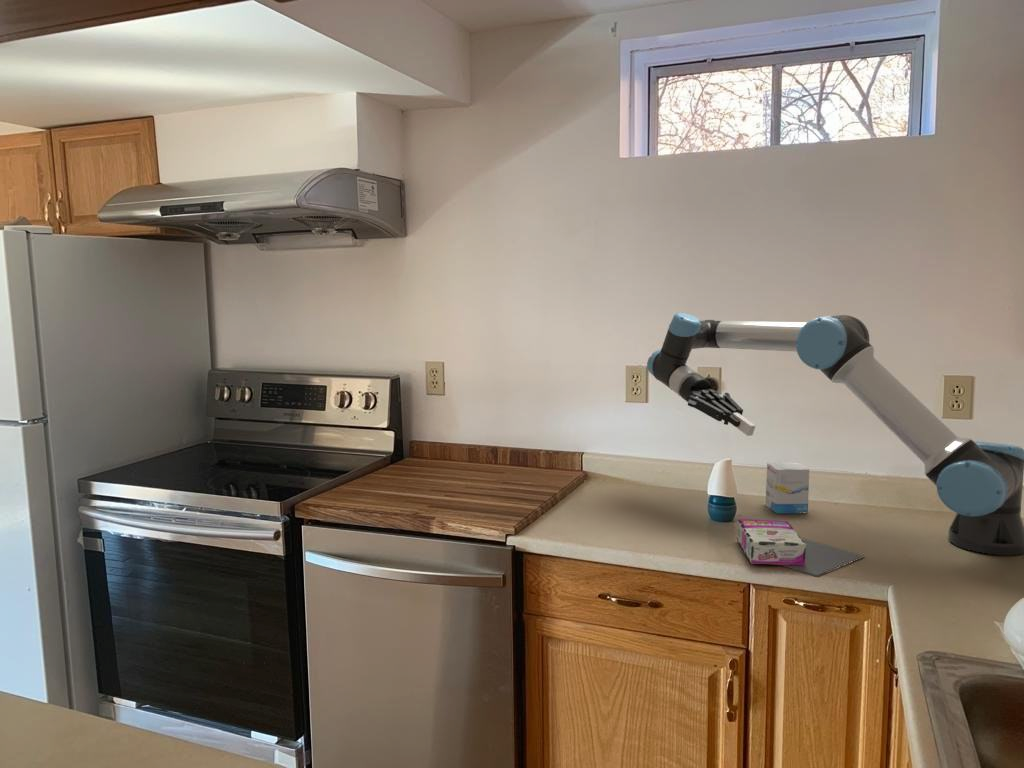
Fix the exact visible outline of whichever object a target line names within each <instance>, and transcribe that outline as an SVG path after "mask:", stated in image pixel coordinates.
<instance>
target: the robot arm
mask: <svg viewBox="0 0 1024 768" xmlns="http://www.w3.org/2000/svg"><path fill="white" fill-rule="evenodd" d="M667 329H668V330H667V331H666V335H665V337H664V341H663V342H662V343H663V344H662V347H661V348H660V349H659V350H658V349H657V350H655V351H653V352H652V354H651V355H650V356H649V357H648V360H647V362H646V366H647V371H648V372H649V374H651V375H652V376H653V377H654V378H655V379H656V380H658V381H659V382H660V383H662V384H664V386H666V387H667V388H669V389H670V390H671V391H673V392H674V393H675V394H676V395H678V396H679V397H681V399H683V400H684V401H685V402H687V406H689V407H691V408H694V409H696V410H698V411H700V412H702V413H703V414H705V415H706V416H708V417H711V419H713V420H716V421H718V422H722V421H723V425H726V426H727V425H728V424H730V425H732V426H733V427H734V428H737V429H738V430H739V431H740V432H741V433H743V434H745V435H746V436H748V437H750V436H753V435H754V431H755V428H756V426H757V425H755V424H754V423H753V422H752V421H750V420H749V419H747V418H746V417H745V416H743V412H744V409H743V408H742V407H741V406H740V405H739V404H738V403H737V402H736V401H735V400H734V399H733V398H732V397H731V395H730V393H728V392H724V394H719V392H718V391H717V390H714V389H712V386H711V383H710V381H709V380H708V379H706V378H705V377H703V376H702V375H701V374H699V373H698V372H696V371H695V370H694V369H692V368H691V367H689V366H688V365H687V361H688V360H689V357H690V354H691V352H692V350H696V349H705V348H710V349H735V350H757V351H775V352H795V353H797V355H798V358H799V359H800V360H801V362H802V363H803V364H805V365H806V366H808V367H809V368H812V369H815V370H820V371H821V373H822V374H823V375H824V376H825V377H827V378H828V379H829V381H831V383H833V384H843V385H844V386H846V388H848V390H849V391H851V392H852V394H854V396H855V397H856V398H858V400H860V402H862V404H864V406H865V407H866V408H868V410H870V411H871V412H872V413H873V414H874V415H875V416H876V417H877V419H879V420H880V421H881V422H882V423H883V424H884V425H885V426H886V427H887V428H888V429H889V430H890V431H891V432H892V433H893V434H894V435H895V436H896V437H897V438H898V439H899V440H900V441H901V442H902V443H903V444H904V445H905V446H906V447H907V448H908V449H909V450H910V451H911V452H912V453H913V454H914V455H915V456H916V457H917V458H918V459H919V460H920V461H921V462H922V463H923V465H924V475H925V476H926V478H927V479H929V480H930V481H931V482H932V483H933V484H934V485H935V487H936V493H937V494H938V498H939V499H940V501H941V502H942V504H943V505H944V506H945V507H947V508H948V509H949V510H951V511H952V512H954V513H955V515H954V517H953V520H952V522H951V524H950V526H949V528H948V533H947V534H948V535H947V537H948V538H947V540H948V539H949V540H948V542H949V541H950V542H949V543H951V542H952V543H953V544H952V543H951V544H952V545H954V544H955V545H954V546H956V545H957V546H956V547H958V546H959V547H958V548H960V547H961V548H960V549H963V548H964V550H966V549H969V550H968V551H970V550H973V551H972V552H974V551H977V552H976V553H979V552H982V553H981V554H984V553H988V554H987V555H991V554H994V555H993V556H1020V555H1023V554H1024V523H1023V518H1022V513H1021V512H1022V498H1023V487H1024V485H1023V484H1024V449H1023V448H1022V447H1021V446H1017V445H1014V444H1013V445H1012V444H1004V443H998V442H986V441H978V440H977V441H975V440H973V439H972V438H969V437H968V438H967V437H959V436H957V435H956V434H955V433H954V432H953V431H952V430H951V429H950V428H949V427H947V426H946V425H945V423H944V422H942V420H940V419H939V418H938V417H937V416H936V415H935V414H934V413H933V412H932V411H931V410H930V409H929V408H928V407H927V406H926V405H924V403H923V402H921V401H920V400H919V399H918V398H917V397H916V396H915V395H914V394H913V393H912V392H911V391H910V390H909V389H908V388H906V387H905V386H904V384H903V383H902V382H900V380H898V379H897V378H896V377H895V376H894V375H893V374H892V372H890V371H889V370H888V369H887V368H885V366H884V365H882V364H881V363H880V362H879V361H878V360H877V359H876V358H875V357H874V352H875V347H874V346H873V345H872V344H871V343H870V334H869V333H870V332H869V330H868V327H867V326H866V325H865V323H864V322H862V320H860V319H858V318H857V317H855V316H851V315H849V314H848V315H846V314H841V315H840V314H839V315H821V316H818V317H815V318H813V319H811V320H808V321H770V320H769V321H758V320H756V321H755V320H753V321H752V320H750V321H749V320H716V321H715V319H705V320H700V319H699V318H698V317H697V316H694V315H692V314H689V313H684V312H677V313H675V314H674V315H673V318H672V319H671V322H670V323H669V324H668V328H667Z"/></svg>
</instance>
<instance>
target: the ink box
mask: <svg viewBox="0 0 1024 768" xmlns="http://www.w3.org/2000/svg"><path fill="white" fill-rule="evenodd" d="M765 484H766V485H765V487H766V488H765V506H767V505H768V506H767V507H768V508H769V509H770V510H771V509H772V510H773V511H774V512H775V513H774V512H773V511H772V510H771V511H772V512H773V513H774V514H804V513H803V512H808V513H809V494H810V493H809V491H810V490H809V488H810V469H809V468H807V467H806V466H804V465H803V464H801V463H799V462H794V461H793V462H788V461H787V462H786V461H785V462H780V461H775V462H766V483H765ZM800 512H801V513H800Z"/></svg>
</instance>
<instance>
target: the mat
mask: <svg viewBox="0 0 1024 768" xmlns="http://www.w3.org/2000/svg"><path fill="white" fill-rule="evenodd" d="M800 538H801V539H802V540H803V541H804V543H805V544H806V554H805V566H799V565H780V566H782V567H785V568H787V567H788V569H791V568H792V569H791V570H794V569H795V570H794V571H797V570H798V572H800V571H801V572H800V573H803V572H804V573H803V574H806V573H807V574H806V575H810V576H813V577H815V578H818V577H820V576H823V575H825V574H824V573H826V572H828V571H830V572H832V571H831V570H833V569H835V568H837V567H839V566H842V565H844V564H847V563H849V562H851V561H854V560H856V559H859V558H861V557H863V556H865V555H863V554H861V553H860V554H859V553H856V552H852V551H849V550H845V549H842V548H838V547H835V546H831V545H827V544H824V543H820V542H817V541H813V540H809V539H806V538H802V537H800ZM848 551H849V552H848ZM741 554H743V555H746V554H745V552H744V550H743V549H742V550H741ZM835 570H836V569H835ZM833 571H834V570H833ZM828 573H829V572H828ZM822 574H823V575H822ZM826 574H827V573H826Z"/></svg>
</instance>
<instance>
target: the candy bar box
mask: <svg viewBox="0 0 1024 768" xmlns="http://www.w3.org/2000/svg"><path fill="white" fill-rule="evenodd" d="M736 532H737V533H736V538H737V541H738V542H739V545H740V546H741V548H742V551H743V550H744V552H745V554H744V555H746V557H747V559H748V561H749V562H750V564H751V565H779V566H781V565H799V566H805V554H806V544H805V543H804V541H803V540H802V539H801V538H802V537H801V536H800V535H799V534H798V533H797V531H796V530H795V529H794V528H793V526H792V525H791V524H790V523H789V522H788V520H774V519H773V520H772V519H752V518H751V519H749V518H747V519H746V518H737V531H736Z"/></svg>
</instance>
